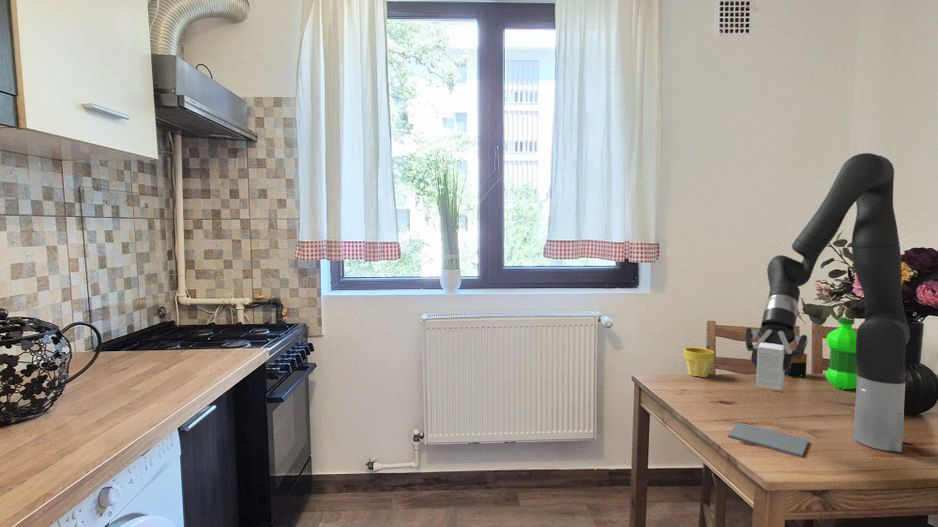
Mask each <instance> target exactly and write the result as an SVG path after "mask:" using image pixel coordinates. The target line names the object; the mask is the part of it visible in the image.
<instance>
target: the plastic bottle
mask: <svg viewBox="0 0 938 527" xmlns="http://www.w3.org/2000/svg"><path fill="white" fill-rule="evenodd" d="M840 317H841V318H840V319H839V318H838V319H839V320H838V324H839V327H838V328H836V329H834V330H832V331H831V332H829V333H828V334H827V336H826V339H825V340H826V342H825V343H826V345H827V346H828V347H829V348H830V354H829V367H828V369H827V370H826V372H825V377H826V379H827V381H828V382H829V383H830V384H831V386H833V387H834V388H835V387H837V388H836V389H838V388H841V389H840V390H843V389H853V390H854V389H856V384H857V366H856V336H857V331H856V330H854V329H853V325H855V318H853V319H852V320H850V319H847V318H848V317H845V316H840Z"/></svg>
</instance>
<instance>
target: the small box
mask: <svg viewBox="0 0 938 527" xmlns="http://www.w3.org/2000/svg"><path fill="white" fill-rule="evenodd" d="M784 356H785V347H784V346H783V345H780V344H775V343H767V342H764V343H760V344H759V346H758V349H757V366H756V379H755V380H756V381H755V382H756V383H755V386H756V387H759V388H766V389H771V390H775V391H782V389H783V386H784V383H785V375H784V371H785V370H783V362H784Z"/></svg>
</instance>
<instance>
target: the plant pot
mask: <svg viewBox="0 0 938 527" xmlns="http://www.w3.org/2000/svg"><path fill="white" fill-rule="evenodd" d="M683 358H684V359H685V361H686V368H687V372H688V375H690V376H691V377H694V376H698V377H697V378H701V377H704V378H707V377H708V376H709V373H710V369H711V366H712V363H713V362H714V361H715V352H714V350H711V349H708V348H703V347H693V346H690V347H685V348H684V349H683ZM699 376H700V377H699Z"/></svg>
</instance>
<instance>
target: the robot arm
mask: <svg viewBox="0 0 938 527" xmlns="http://www.w3.org/2000/svg"><path fill="white" fill-rule="evenodd" d="M894 179H895V169H894V165H893V163H892V162H891V161H890V160H889V159H888V158H886V157H884V156H882V155H879V154H874V153H870V152H869V153H868V152H866V153H858V154H855V155H853V156H851V157H850V158H848V159H847V160H846V161H845V162H844V164H843V165H842V167H841V168H840V169H839V172H838V173H837V175H836V177H835V179H834V181H833V183H832V185H831V187H830V188H829V191H828V193H827V195H826V196H825V198H824V199H823V201H822V203H821V204H820V206H819V207H818V209H817V211H816V212H815V213H814V215H813V216H812V217H811V219H810V220H809V221H808V222H807V224H806V226H805V227H804V228H803V229H802V231H801V232H800V233H799V234H798V236H797V238H795V240H794V241H793V243H792V245H791V248H792V250H793V251H794V252H796V253H797V254H798V255H800V256H802V258H803V259H802V261H798V260H796V259H795V258H792V257H789V256H786V255H784V254H783V255H782V254H781V255H776V256H774V257H773V258H772V259H771V260H770V261H769V262H768V265H767V270H766V271H767V272H766V273H767V279H768V283H769V284H768V285H769V293H768V298H767V301H766V304H765V307H764V311H763V315H762V320H761V323H760V327H759V328H758V329H757V330H756V329H752V328H750V327H747V328H746V329H745V331H746V332H745V346H746V350H747V351H748V352H751V357H750V359H751V363H752V364H753V366H756V367H757V349H758V346H759V344H760V343H764V342H767V343H775V344H780V345H783V346H784V347H785V356H784V362H783V370H785V371H787V369H790V368H791V362H792V359H793V358H798V359H800V358H802V355H803V353H805V350H806V347H807V345H808V344H809V343H808V341H809V340H808V335H806V334H802V335H797V334H796V333H795V331H796V330H795V328H796V324H797V319H798V316H799V315H798V312H799V308H798V307H799V301H800V296H801V295H800V294H801V290H800V288H799V287H801V286H804V285H805V284H807V283H808V282H809V281H810V279H811V276H812V273H813V271H814V268H815V265H816V263H817V261H818V259H819V257H820V256H821V254H823V251H825V249H826V248H827V246H828V245H829V244H830V243H831V241H832V240H833V239H834V237H835V236H836V235H837V233H838V231H839V230H840V227H841V225H842V223H843V221H844V220H845V217H846V215H847V214H848V212H849V210H851V208H852V206H853V205H854V204H855V203H856V204H855V205H856V217H855V221H854V226H853V231H852V234H851V235H852V237H851V252H852V253H851V254H852V255H851V256H852V261H853V269H854V272H855V275H856V278H857V280H858V283H859V285H860V286H859V287H860V288H861V291H862V295H863V298H864V321H863V322H862V323H861V324H860V325H859V326H858V328H857V331H856V332H857V336H856V366H857V384H856V388H855V389H856V390H855V405H854V407H855V408H854V425H853V439H854V441H856V442H857V443H859V444H861V445H863V446H866V447H870V448H872V449H875V450H881V451H886V452H896V453H902V452H903V438H904V435H903V434H904V424H905V423H904V421H905V410H904V409H905V398H906V397H905V395H906V383H907V382H906V381H907V380H906V379H907V373H906V366H905V364H906V363H905V360H906V347H907V346H906V345H907V344H908V342H909V341H910V338H911V331H910V328H909V323H908V321H907V316H906V312H905V307H904V304H903V297H902V287H903V286H902V284H903V281H902V280H903V278H902V277H903V275H902V270H903V269H902V255H901V245H900V237H899V232H898V225H897V220H896V214H895V210H894V181H895V180H894ZM756 336H758V337H759V339H758V340H757V342H756V343H755V344H753V339H755V338H756ZM794 341H796V344H797V345H796V348H795V349H794V350H792V348H791V346H790V344H791V343H792V342H794ZM791 350H792V351H791Z"/></svg>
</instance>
